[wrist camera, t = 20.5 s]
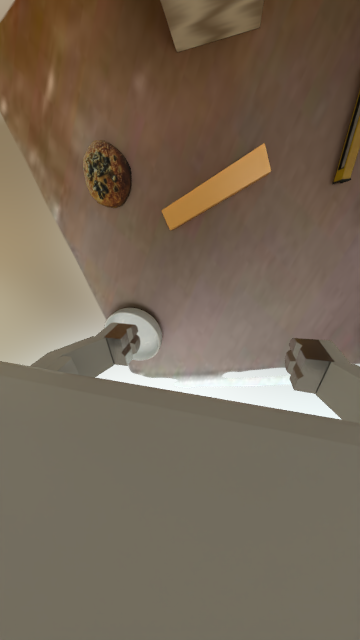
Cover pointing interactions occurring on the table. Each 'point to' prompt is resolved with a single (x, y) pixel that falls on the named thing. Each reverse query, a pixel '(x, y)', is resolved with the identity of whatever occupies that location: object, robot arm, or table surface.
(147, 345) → the cereal bowl
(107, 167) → the bread roll
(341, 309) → the table surface
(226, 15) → the stand
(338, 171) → the spirit level
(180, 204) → the long orange beam
